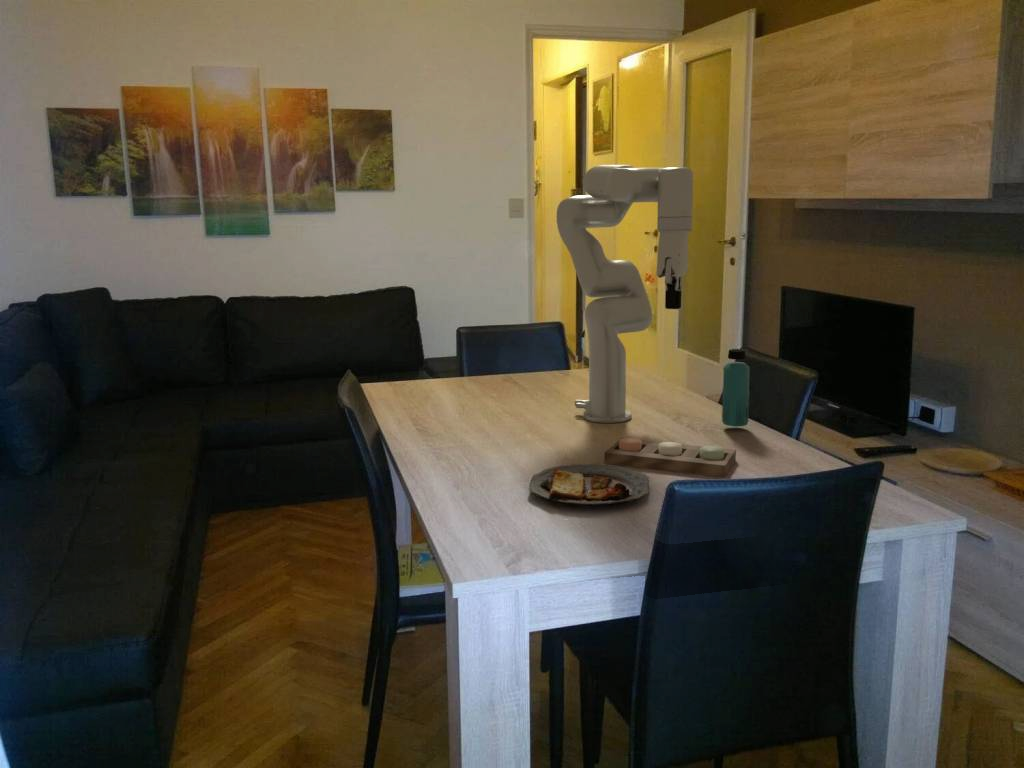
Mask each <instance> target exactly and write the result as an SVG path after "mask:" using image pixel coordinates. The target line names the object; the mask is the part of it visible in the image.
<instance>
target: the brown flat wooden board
mask: <svg viewBox="0 0 1024 768" xmlns="http://www.w3.org/2000/svg"><path fill="white" fill-rule="evenodd" d="M620 439H624V438H623V437H622V438H620ZM620 439H619V440H620ZM619 440H617V441H616V442H615V443H614V444H613V445H611V446H610V447H609V448H608V449H606V451H604V461H603V462H604V463H603V464H604V465H613V466H623V467H633V468H634V467H635V468H643V469H650V470H651V469H652V470H659V471H666V472H667V471H668V472H669V471H670V472H676V473H686V474H693V475H695V474H696V475H703V476H711V477H713V476H714V477H719V476H722V477H723V478H725V477H726V476H727V475H728V473H729V472H730V470H731V468H732V467H733V465H734V464H735V462H736V461H737V460H736V459H737V450H736V449H731V448H723V447H722V448H723V449H724V460H723V461H720V460H710V459H701V458H700V448H701V447H704V446H705V445H704V446H702V445H694V444H693V445H692V444H683V443H682V444H681V443H680V444H681V445H682V455H681V456H673V455H663V454H659V444H660V443H663V442H664V441H663V442H662V441H654V440H653V441H652V440H643V439H640V440H641V441H642V450H641V451H640V452H635V451H626V450H619ZM722 477H721V478H722Z"/></svg>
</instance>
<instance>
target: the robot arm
mask: <svg viewBox="0 0 1024 768" xmlns="http://www.w3.org/2000/svg"><path fill="white" fill-rule="evenodd" d="M582 186H583V189H584V191H585V192H586V193H587V194H585V195H583V194H581V195H574V196H570V197H566V198H564V199H563V200H561V201H560V202H559V204H558V206H557V209H556V215H555V216H556V226H557V231H558V234H559V236H560V238H561V240H562V242H563V244H564V246H565V247H566V249H567V251H568V252H569V254H570V258H571V260H572V263H573V264H572V265H573V266H574V270H575V273H576V275H577V279H578V282H579V286H580V287H581V290H582V292H583V293H584V295H585V296H586V297H587V298H588V297H589V298H596V299H593V300H591V301H590V302H589V303H588V305H586V307H585V311H584V318H585V325H586V329H587V339H588V367H589V368H588V369H589V370H588V372H589V373H588V377H589V378H588V382H589V383H588V384H589V385H588V387H589V388H588V389H589V390H588V392H589V393H588V394H589V395H588V399H587V398H586V400H583V399H579V398H578V399H577V398H576V399H575V401H574V406H575V408H576V409H584V411H583V413H582V415H583V418H584V419H585V420H587V421H589V422H593V423H600V424H601V423H603V424H604V423H605V424H607V423H609V424H612V423H613V424H614V423H622V422H627V421H629V420H630V419H632V412H631V410H627V409H626V406H627V405H626V400H627V398H626V395H627V394H626V393H627V392H626V390H627V389H626V387H627V386H626V385H627V383H626V381H627V378H626V377H627V352H626V347H625V345H624V344H623V342H622V340H621V339H620V337H619V334H628V333H629V334H630V333H637V332H639V333H640V332H642V331H645V330H646V329H648V328H649V327H651V323H652V322H653V311H652V306H651V302H650V299H649V297H648V294H647V291H646V288H645V285H644V282H643V279H642V277H641V274H640V272H639V270H638V269H639V268H638V267H637V266H636V265H635V264H634V262H631V261H630V260H627V259H613V260H610V259H608V257H606V254H605V251H604V249H603V246H602V244H601V243H600V241H599V240H598V239H597V238H596V236H594V235H593V234H592V233H591V232H589V231H588V230H587V229H592V228H593V229H595V228H598V229H599V228H612V227H616V226H617V225H620V223H621V222H622V221H623V220H624V218H625V217H626V215H627V213H629V210H630V208H631V207H632V205H633V204H634V203H657V222H656V224H657V226H656V227H657V228H656V229H657V230H656V232H657V233H659V237H658V244H657V257H656V276H657V278H664V284H665V289H664V290H665V296H664V297H665V298H664V301H665V302H664V306H665V307H664V309H666V310H679V309H681V308H682V281H683V276H685V275H687V273H688V268H689V234H688V233H692V232H693V205H694V204H693V203H694V201H693V200H694V195H693V194H694V172H693V170H692V169H691V168H690V167H684V166H683V167H682V166H680V167H679V166H678V167H634V166H633V165H629V164H599V165H595V166H592V167H590V168H589V169H588V170H587V171H586V173H585V174H584V176H583V178H582Z"/></svg>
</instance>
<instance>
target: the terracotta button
mask: <svg viewBox="0 0 1024 768" xmlns="http://www.w3.org/2000/svg"><path fill="white" fill-rule="evenodd" d="M641 440H642V439H639V438H635V437H626V438H624V439H621V438H619V450H626V451H635V452H640V451H641V450H642V441H641Z"/></svg>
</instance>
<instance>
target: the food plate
mask: <svg viewBox="0 0 1024 768" xmlns="http://www.w3.org/2000/svg"><path fill="white" fill-rule="evenodd" d="M585 478H591V480H590V483H591V487H589V488H588V486H587V483H586V480H585ZM612 480H613V481H616V483H615V484H614V486H613V485H611V486H609V485H610V484H611V482H612ZM619 482H620V483H619ZM649 483H650V477H649V476H648V475H647V474H645V473H642V472H640V471H636V470H634V469H630V468H626V467H624V466H623V467H622V466H619V465H612V464H602V463H576V464H566V465H559V466H553V467H548V468H545V469H543V470H541V471H540V472H537V473H535V474H533V476H532V478H531V480H530V482H529V484H528V485H529V486H528V487H527V488H528V490H529V492H530V493H531V494H533V496H537V497H539V498H542V499H543V500H546V501H551V502H555V503H556V504H568V505H569V504H572V505H573V504H575V505H586V506H591V507H592V506H605V505H606V506H607V505H613V504H620V503H621V504H622V503H623V504H624V503H625V504H626V503H629V502H633V501H638V500H640V498H641V497H643V498H644V497H646V496H647V495H648V493H649V486H650V484H649Z"/></svg>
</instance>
